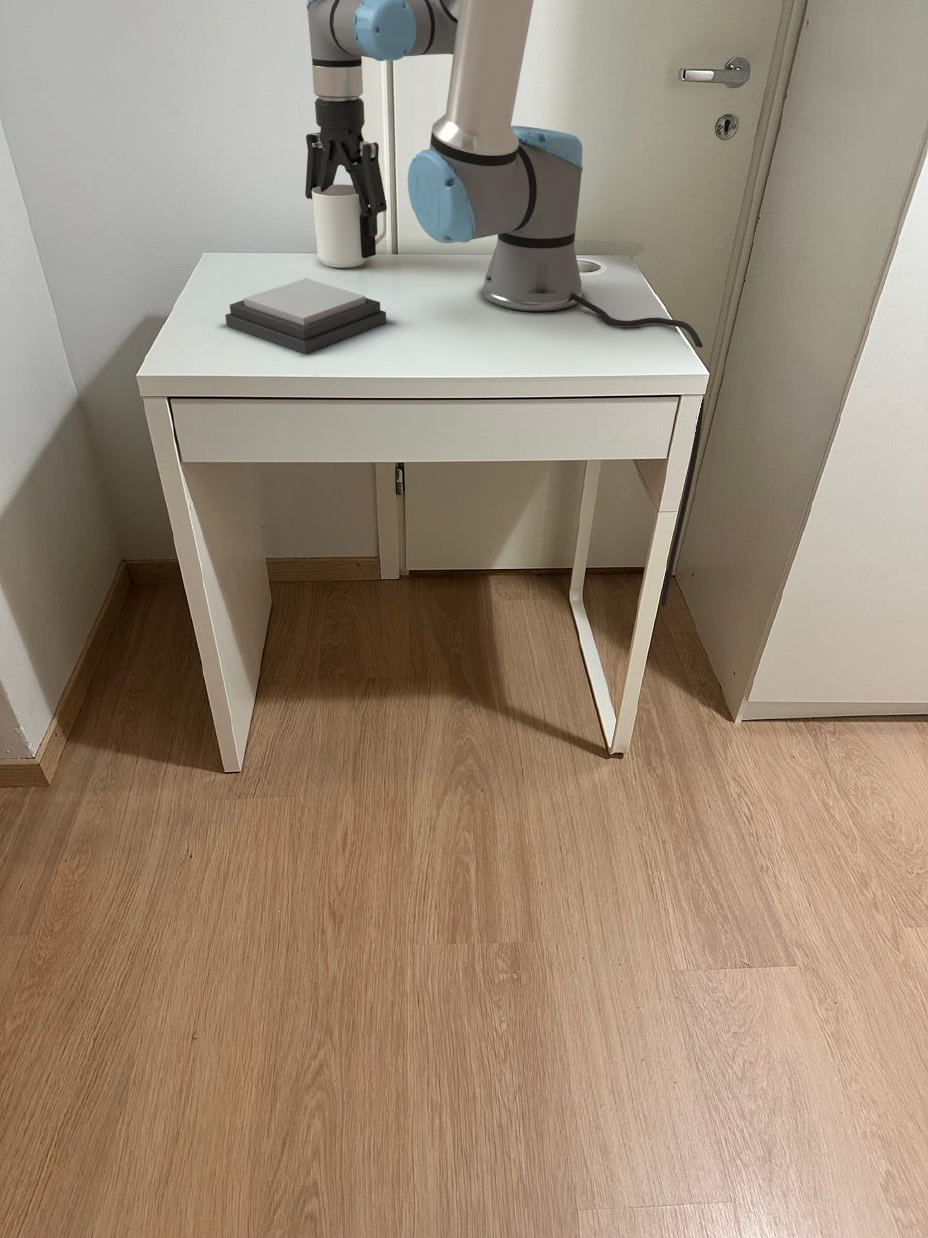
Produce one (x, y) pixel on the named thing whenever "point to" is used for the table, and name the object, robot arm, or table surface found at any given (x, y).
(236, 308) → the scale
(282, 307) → the light grey square tile
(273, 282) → the table surface
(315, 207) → the mug
